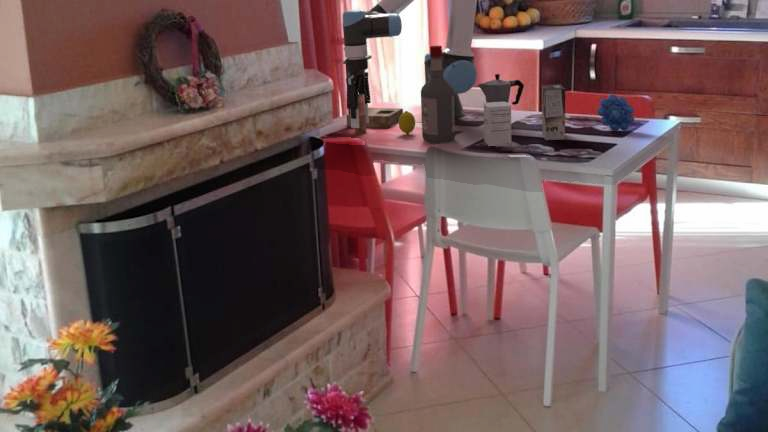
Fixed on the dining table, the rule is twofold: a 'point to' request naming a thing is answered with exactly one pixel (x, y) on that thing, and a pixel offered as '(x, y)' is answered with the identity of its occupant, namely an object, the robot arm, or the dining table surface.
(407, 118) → the lemon
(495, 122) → the supplement box
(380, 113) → the socket awning
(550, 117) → the coffee box
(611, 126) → the blue flower
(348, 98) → the robot arm
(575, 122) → the dining table surface
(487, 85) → the coffeepot
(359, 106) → the peg
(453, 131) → the liquor
